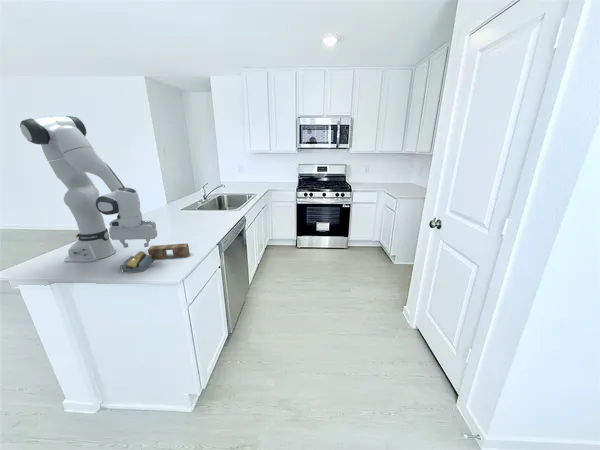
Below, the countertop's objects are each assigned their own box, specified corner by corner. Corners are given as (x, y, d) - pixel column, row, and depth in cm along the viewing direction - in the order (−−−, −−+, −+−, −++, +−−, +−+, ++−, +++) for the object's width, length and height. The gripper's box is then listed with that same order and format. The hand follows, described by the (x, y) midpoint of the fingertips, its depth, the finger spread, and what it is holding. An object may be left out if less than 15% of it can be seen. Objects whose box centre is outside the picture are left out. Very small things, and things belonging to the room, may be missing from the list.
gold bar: (136, 268, 117) (134, 261, 116) (127, 269, 117) (125, 262, 115) (147, 257, 128) (144, 250, 127) (139, 258, 128) (136, 252, 127)
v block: (144, 270, 119) (142, 263, 118) (123, 272, 118) (121, 265, 117) (152, 261, 129) (151, 254, 128) (132, 263, 127) (131, 256, 126)
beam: (149, 259, 131) (147, 249, 129) (153, 255, 135) (151, 245, 134) (187, 256, 134) (185, 246, 132) (189, 253, 138) (187, 243, 137)
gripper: (157, 218, 125) (160, 243, 129) (112, 219, 121) (117, 245, 125) (152, 222, 119) (156, 248, 123) (105, 223, 115) (110, 250, 119)
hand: (136, 246), depth 124 cm, fingers open, 8 cm apart
